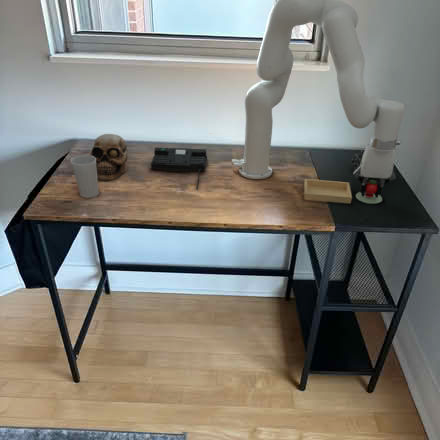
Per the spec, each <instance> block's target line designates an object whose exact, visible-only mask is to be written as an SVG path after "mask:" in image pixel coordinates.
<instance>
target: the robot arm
mask: <svg viewBox="0 0 440 440" xmlns="http://www.w3.org/2000/svg"><path fill="white" fill-rule="evenodd" d="M358 21H359V16H358V12H357V10H356V9H355V8H354V7H353V6H352V5H351V4H349V3H346V2H344V1H342V0H277V1H276V2H274V5H273V6H272V8H271V9H270V12H269V14H268V18H267V21H266V26H265V30H264V34H263V37H262V41H261V45H260V49H259V53H258V57H257V60H256V67H255V68H256V74H257V75H258V78H260V79H261V81H259V82H257V83H255V84H253V85H252V86H251V87H250V88H249V89H248V90H247V92H246V95H245V98H244V110H245V129H244V133H245V134H244V148H243V149H244V150H243V152H244V153H243V158H241V159H231V165H233V167H234V168H235V167H236V168H238V173H239V175H241V176H242V177H244V178H246V179H251V180H263V179H267V178H270V177H271V176H272V174H273V169H272V167H270V158H271V157H270V156H271V148H272V147H271V146H272V137H273V123H274V121H273V109H274V108H275V107H276V106H277V105H279V104H280V102H282V100H283V98H284V96H285V94H286V90H287V87H288V84H289V80H290V77H291V73H292V70H293V67H294V55H293V52H292V50H291V48H290V44H291V40H292V35H293V30H294V28H295V27H298V26H304V25H306V24H307V25H308V24H310V23H312V24H313V25H315V26H318V27H320V28H322V33H323V36H324V39H325V42H326V45H327V47H328V51H329V53H330V56H331V59H332V62H333V66H334V68H335V72H336V81H337V86H338V87H337V88H338V93H339V98H340V102H341V105H342V108H343V111H344V113H345V117H346V119H347V121H348V123H349V124H350V125H351V126H352V127H353V128H356V129H365V128H367V127H369V126H370V125H371V124H372V122H374V127H373V130H372V135H371V138H370V143H367V145H366V146H365V149H364V150H365V151H364V154H363V157H362V160H361V163H360V166H359V167H358V168H357V169H356V170H355V171H354V170H353V173H352V175H353V177H355V178H356V179H357V180H358V181H359V182H360V188H359V192H360V193H361V195H362V196H364V195H365V191H366V184H367V183H368V181H369V179H370V178H372V179H379V180H378V182H377V183H376V184H377V186H378V189H377V192H376V193H375V197H376V198H378V195H381V193H382V189H383V187H384V186H385V185H387V184H388V183H389V182H392V181H394V180H396V179H397V177H396V173H395V171H394V166H395V161H396V153H397V148H396V146H400V145H401V140H400V139H398V135H399V131H400V128H401V125H402V122H403V121H402V120H403V117H404V113H405V109H406V108H405V105H404V104H403V103H402V102H401V101H397V100H386V99H383V98H380V97H377V96H374V95H371V94H370V95H369V94H368V95H367V93H366V88H365V81H364V71H365V64H366V63H365V62H366V61H365V55H364V51H363V49H362V46H361V43H360V39H359V37H358V33H357V30H356V28H357V26H358ZM360 172H361V173H360ZM359 173H360V174H361V175H359ZM362 176H363V177H362ZM368 178H369V179H368Z"/></svg>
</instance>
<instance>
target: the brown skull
mask: <svg viewBox="0 0 440 440" xmlns="http://www.w3.org/2000/svg"><path fill="white" fill-rule="evenodd" d="M90 155H91V156H94V157H95V158H96V167H97V180H100V181H105V182H107V181H113V180H115V179H117V178H119V177H121V176H122V175H123V174H125V172H126V163H127V162H128V156H129V155H128V145H127V143H126V140H125V139H124V138H123V137H122V136H120V135H119V134H114V133H103V134H101V135H99V136H97V137H96V138H95V140H94V143H93V146H92V148H91V151H90Z"/></svg>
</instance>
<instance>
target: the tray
mask: <svg viewBox="0 0 440 440" xmlns="http://www.w3.org/2000/svg"><path fill="white" fill-rule="evenodd" d="M303 181H304V182H303V200H306V201H317V202H327V203H329V202H330V203H338V204H339V203H341V204H351V203H352V199H353V196H352V189H351V185H350V182H349V181H348V182H347V181H336V180H325V179H324V180H323V179H311V178H304V180H303Z"/></svg>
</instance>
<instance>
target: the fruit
mask: <svg viewBox="0 0 440 440" xmlns="http://www.w3.org/2000/svg"><path fill="white" fill-rule="evenodd" d="M364 151H365V149H361V150H359V152H358V153H355V154H353V157H352V158H351V163H353V164H352V167H354V168H353V172H354V171H355V170H356V169H357V168H358V167H359V166H360V163H361V160H362V157H363V154H364ZM360 173H361V172H360ZM360 173H359V175H361V174H360ZM362 177H363V176H362ZM368 180H370V177H369V178H368Z"/></svg>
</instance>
